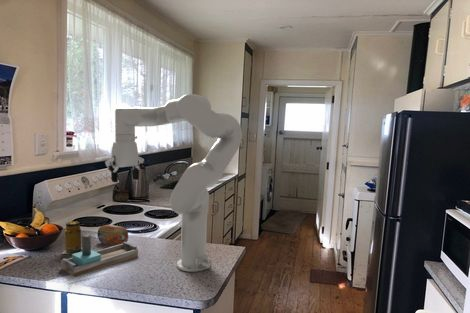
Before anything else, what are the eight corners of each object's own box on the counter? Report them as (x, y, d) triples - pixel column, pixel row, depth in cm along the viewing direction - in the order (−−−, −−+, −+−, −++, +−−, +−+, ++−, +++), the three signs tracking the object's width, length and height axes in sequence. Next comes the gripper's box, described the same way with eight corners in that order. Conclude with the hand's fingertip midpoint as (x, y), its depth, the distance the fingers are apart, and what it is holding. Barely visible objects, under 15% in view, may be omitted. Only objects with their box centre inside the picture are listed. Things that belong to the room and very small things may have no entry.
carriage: (101, 262, 132) (100, 236, 131) (82, 268, 127) (82, 240, 126) (90, 256, 137) (89, 231, 136) (72, 261, 132) (71, 235, 131)
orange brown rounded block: (97, 243, 158) (96, 224, 157) (101, 240, 161) (101, 222, 160) (125, 247, 153) (125, 228, 152) (129, 245, 156) (129, 226, 155)
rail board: (138, 256, 143) (138, 247, 143) (74, 276, 123) (74, 266, 123) (123, 250, 150) (123, 241, 149) (61, 268, 130) (61, 258, 130)
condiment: (68, 247, 151) (67, 220, 150) (88, 247, 152) (88, 220, 151) (61, 254, 144) (60, 225, 143) (83, 253, 145) (82, 225, 144)
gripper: (138, 137, 152) (138, 177, 153) (100, 138, 138) (100, 181, 140) (148, 138, 147) (148, 179, 148) (110, 139, 134) (111, 184, 135)
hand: (125, 180), depth 144 cm, fingers open, 9 cm apart
